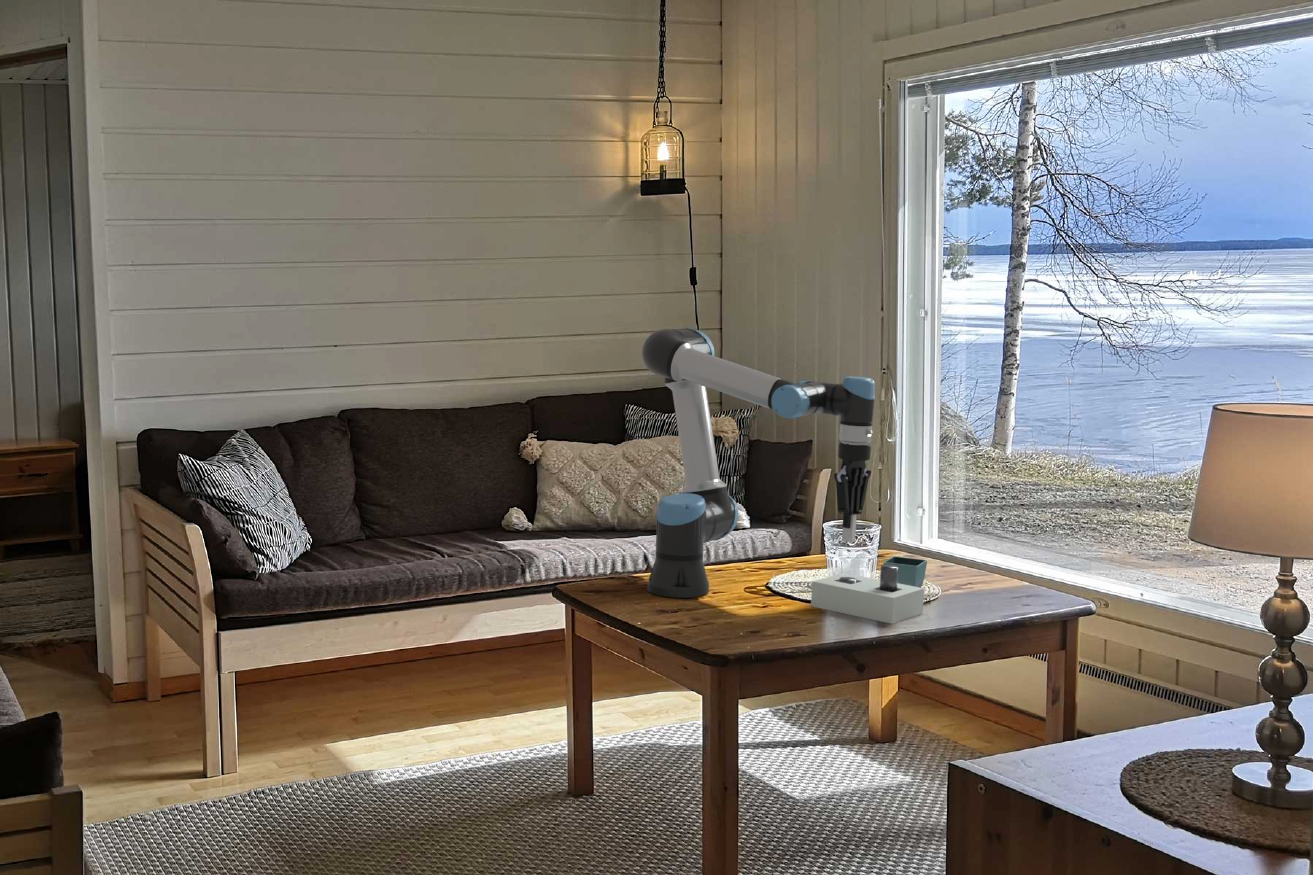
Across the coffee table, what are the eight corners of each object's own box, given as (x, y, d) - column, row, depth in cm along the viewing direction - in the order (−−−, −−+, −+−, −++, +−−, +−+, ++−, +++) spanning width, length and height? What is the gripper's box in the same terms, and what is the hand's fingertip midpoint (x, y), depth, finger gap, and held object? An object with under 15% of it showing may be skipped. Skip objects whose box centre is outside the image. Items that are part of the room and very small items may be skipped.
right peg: (876, 591, 303) (877, 566, 302) (885, 588, 306) (886, 563, 305) (891, 594, 300) (892, 569, 299) (900, 591, 303) (901, 566, 302)
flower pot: (880, 597, 320) (882, 561, 319) (891, 590, 328) (893, 555, 327) (915, 602, 316) (917, 566, 315) (925, 595, 324) (927, 560, 323)
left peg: (835, 603, 310) (836, 578, 310) (844, 600, 313) (845, 576, 313) (849, 606, 308) (850, 581, 307) (858, 603, 311) (859, 578, 310)
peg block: (810, 606, 309) (812, 581, 308) (842, 596, 319) (844, 572, 319) (892, 623, 295) (893, 597, 294) (922, 613, 305) (924, 588, 305)
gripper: (854, 446, 299) (847, 547, 302) (883, 442, 309) (876, 540, 311) (826, 442, 303) (819, 541, 306) (856, 438, 313) (849, 535, 316)
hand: (848, 540), depth 309 cm, fingers closed
